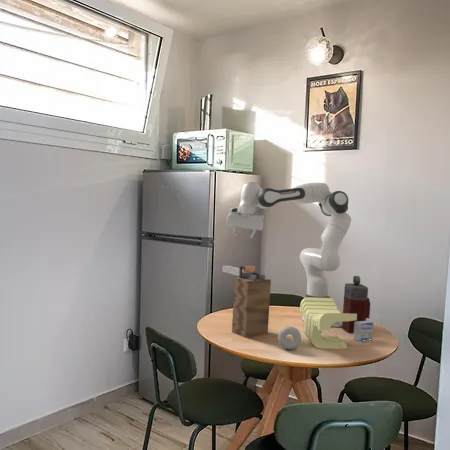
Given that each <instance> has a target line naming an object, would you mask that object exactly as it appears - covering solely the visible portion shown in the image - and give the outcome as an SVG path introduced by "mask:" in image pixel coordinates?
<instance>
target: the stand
mask: <svg viewBox="0 0 450 450" xmlns="http://www.w3.org/2000/svg"><path fill="white" fill-rule="evenodd" d="M245 266H246V265H245ZM245 266H239V267H238V268H239V276H238V277H234V283H233V285H234V286H233V288H234V289H233V301H232V302H233V304H232V307H233V308H232V321H231V322H232V323H231V324H232V325H231V332H232V333H233V334H235V335H238V336H241V337H243V338H251V337H255V336H262V335H267V334H268V333H269V319H270V318H269V316H270V300H271V299H270V298H271V281H272V280H271V279H269V278H267V277H266V274H263V273H258V272H256V270H255V271H253V275H252V274H248V273H244V272H242V269H244V267H245Z"/></svg>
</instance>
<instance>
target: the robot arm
mask: <svg viewBox="0 0 450 450" xmlns="http://www.w3.org/2000/svg"><path fill="white" fill-rule="evenodd" d="M241 188H242V189H241V193H240V202H239V206H237V207H232V208H230V209H229V214H227V217H226V223H225V225H226V226H227V227H230V228H231V230H232V236H237V232H236V228H239V229H244V230H245V229H246V230H252V233H251V234H249V238H250V239H253V238H254V235H255V234H256V232H257V231H263V229H264V221H265V215H264V214H263V213H261V212H259V213H258V212H256V207H257V208H260V209H263V210H264V209H268V208H270V207H273V206H275V205H276V204H278V203H282V202H283V203H284V202H288V201H294V202H297V203H298V204H313V203H318V206H319V208H320V211H321V213H322V215H324V216H327V217H330V220H329V222H328V223H327V225H326V226H325V228H324V230H323V232H322V233H321V235H320V241H321V242H322V244H321V248H316V247H307V248H303V250H301V252H300V254H299V261H300V263H301V264H302V265H303V268H304V270H305V275H306V280H307V281H306V284H307V285H306V294H305V298H307V297H314V298H332V296H329V293H328V292H329V281H328V278H326V275H325V273H324V272H335V271H337V269H338V268H339V267H340V265H341V258H340V255H339V249H340V246H341V244H342V242H343V240H344V239H345V237H346V235H347V233H348V231H349V229H350V226H351V222H352V217H351V215H350V214H349V213H347V211H348V209H349V196H348V195H347V193H346V192H344V191H342V190H336V191H333V192H331V191H330V187H329V186H328V184H327V183H326V182H310V183H309V182H307V183H303V184H300V185H297V186H295V187H292V188H285V189H275V188H272V187H271V188H269V187H266V188H263V187H261V186H260V185H259V184H258V183H257V182H252V181H251V182H246V183H244V184H243V185H242V187H241ZM301 320H302V321H304V322H305V318H304V315H303V314H302V318H301ZM331 327H334V328H342V322H336V323H334V324H333V325H332V326H331Z"/></svg>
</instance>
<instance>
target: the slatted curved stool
mask: <svg viewBox="0 0 450 450" xmlns="http://www.w3.org/2000/svg"><path fill="white" fill-rule="evenodd" d="M299 305H300V306H299V313H300V314H302V316H303V315H304V318H305V321H304V335H305V338H307V340H309V342H310V343H311V344H312V345H313V346H314V347H315V348H318V349H335V348H347V346H348V345H347V343H346V342H345V341H344V340H343V339H342V338H340V337H339V336H337V335H326V334H322V332H323V331H325V332H326V331H327V332H329V331H330V330H331V327H332V325H333V324H334V323H336V322H343V321H354V320H357V314H348V313H343V312H342V313H341V312H340V309H338V306H337V304H336V302H335V300H334V298H333V297H331V298H314V297H307V298H306V297H304V298H303V299H302V300H301V302H300V304H299Z"/></svg>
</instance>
